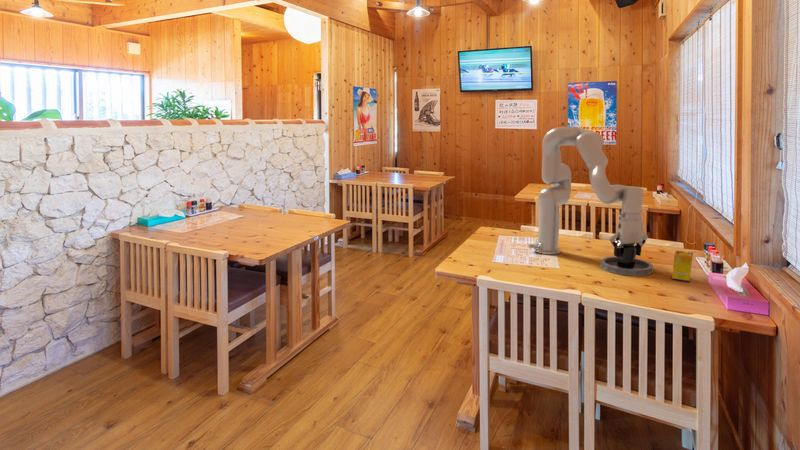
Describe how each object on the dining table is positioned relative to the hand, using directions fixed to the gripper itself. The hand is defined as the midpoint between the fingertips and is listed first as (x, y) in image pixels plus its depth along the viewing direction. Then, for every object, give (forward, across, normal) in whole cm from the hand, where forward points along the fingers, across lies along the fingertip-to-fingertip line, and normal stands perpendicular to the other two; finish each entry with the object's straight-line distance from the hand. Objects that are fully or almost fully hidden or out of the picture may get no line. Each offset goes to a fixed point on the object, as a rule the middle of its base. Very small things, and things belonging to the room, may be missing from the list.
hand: (627, 255), depth 196 cm
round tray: (+6, 0, 0) cm, 6 cm away
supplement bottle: (+5, 0, 0) cm, 5 cm away
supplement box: (+6, +12, -17) cm, 22 cm away
